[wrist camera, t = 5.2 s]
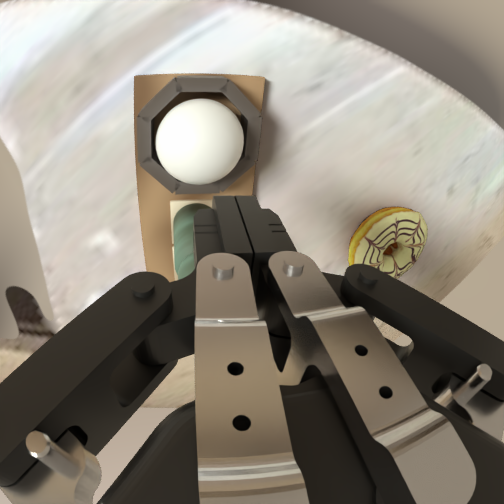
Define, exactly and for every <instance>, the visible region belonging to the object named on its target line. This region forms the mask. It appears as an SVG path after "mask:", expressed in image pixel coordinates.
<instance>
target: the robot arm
mask: <svg viewBox="0 0 504 504" xmlns="http://www.w3.org/2000/svg"><path fill="white" fill-rule="evenodd" d="M193 254H194V267H195V269H194V270H193V272H192V273H190V274H189V275H188V276H186V277H184V278H182V279H179V280H176V281H173V282H169V281H168V279H167V278H165V277H164V276H162V275H161V274H158V273H155V272H138V273H134V274H131V275H129V276H127V277H126V278H124V279H123V280H122V281H120V282H119V283H118V284H116V285H115V286H114V287H113V288H111V289H110V290H109V291H108V292H106V293H105V294H104V295H103V296H101V297H100V298H99V299H98V300H96V301H95V302H94V303H93V304H91V305H90V306H89V307H88V308H86V309H85V310H84V311H83V312H82V313H80V314H79V315H78V316H77V317H76V318H74V319H73V320H72V321H71V322H70V323H68V324H67V325H66V326H65V327H64V328H62V329H61V330H60V331H59V332H58V333H56V334H55V335H54V336H53V337H52V338H51V339H49V340H48V341H47V342H46V343H45V344H44V345H43V346H41V347H40V348H39V349H38V350H37V351H36V352H35V353H33V354H32V355H31V356H30V357H29V358H28V359H27V360H26V361H24V362H23V363H22V364H21V365H20V366H19V367H18V368H17V369H16V370H14V371H13V372H12V373H11V374H10V375H9V376H8V377H7V378H6V379H5V380H4V381H3V382H1V383H0V489H1V490H2V491H3V493H4V494H5V495H6V496H7V498H8V499H9V500H10V501H11V503H12V504H92V501H93V496H94V493H95V491H96V489H97V488H98V486H99V484H100V481H101V476H102V475H101V467H100V464H99V462H98V460H97V458H96V457H95V456H96V455H97V454H98V453H99V452H100V451H101V450H102V449H103V448H104V446H105V445H106V444H107V443H108V442H109V441H110V439H112V437H113V436H114V435H115V434H116V433H117V432H118V431H119V430H120V429H121V427H122V426H123V425H124V424H125V423H126V422H127V420H128V419H129V418H130V417H131V416H132V415H133V414H134V413H135V412H136V411H137V409H138V408H139V407H140V406H141V405H142V404H143V403H144V401H145V400H146V399H147V398H148V397H149V396H150V395H151V393H152V392H153V391H154V390H155V389H156V388H157V387H158V385H159V384H160V383H161V382H162V381H163V380H164V379H165V377H166V376H167V375H168V374H169V373H170V372H171V371H172V369H173V368H174V367H175V366H176V364H177V362H178V359H180V358H183V357H186V356H189V355H192V354H195V400H194V401H192V402H189V403H187V404H185V405H183V406H181V407H180V408H178V409H176V410H175V411H173V412H172V413H171V414H169V415H168V416H167V417H166V418H165V419H164V420H163V421H162V422H161V423H160V424H159V425H158V426H157V427H156V428H155V430H154V431H153V432H152V434H151V435H150V436H149V438H148V439H147V440H146V441H145V443H144V444H143V446H142V447H141V448H140V449H139V451H138V452H137V453H136V454H135V456H134V457H133V458H132V460H131V461H130V462H129V463H128V465H127V466H126V467H125V469H124V470H123V471H122V472H121V474H120V475H119V476H118V478H117V479H116V480H115V481H114V483H113V484H112V485H111V486H110V488H109V489H108V490H107V491H106V493H105V494H104V495H103V496H102V498H101V499H100V500H99V501H98V503H97V504H504V443H503V442H501V440H502V435H503V430H504V342H503V341H502V340H500V339H499V338H497V337H495V336H494V335H492V334H490V333H489V332H487V331H486V330H484V329H482V328H480V327H479V326H477V325H476V324H474V323H472V322H471V321H469V320H467V319H466V318H464V317H462V316H460V315H459V314H457V313H455V312H454V311H452V310H450V309H448V308H447V307H445V306H443V305H442V304H440V303H438V302H436V301H435V300H433V299H431V298H429V297H428V296H426V295H424V294H422V293H421V292H419V291H417V290H415V289H413V288H412V287H410V286H408V285H406V284H404V283H403V282H401V281H399V280H397V279H395V278H394V277H392V276H390V275H388V274H386V273H384V272H383V271H381V270H379V269H377V268H375V267H373V266H370V265H367V264H353V265H350V266H349V267H348V268H347V269H346V272H345V275H344V276H341V275H335V274H329V273H324V272H321V271H320V269H319V268H318V266H317V265H316V263H315V262H314V261H313V260H312V259H311V258H310V257H308V256H306V255H304V254H302V253H299V252H297V250H296V248H295V246H294V244H293V243H292V241H291V239H290V237H289V235H288V233H287V232H286V229H285V227H284V225H283V224H282V222H281V220H280V218H279V216H278V215H277V214H275V213H274V212H273V211H271V210H270V209H261V207H260V205H259V203H258V201H257V199H256V197H255V196H242V195H235V196H213V199H212V209H199V210H198V211H197V212H196V214H195V215H194V217H193ZM258 317H259V318H258ZM375 317H376V318H378V319H380V320H382V321H383V322H385V323H387V324H388V325H390V326H392V327H394V328H395V329H397V330H399V331H400V332H402V333H404V334H406V335H407V336H409V337H410V338H411V339H412V342H411V344H410V345H408V346H406V347H402V346H399V345H397V344H395V343H394V342H392V341H390V340H388V339H387V338H385V337H384V336H383V335H382V333H381V332H380V330H379V329H378V327H377V326H376V324H375V323H374V321H373V320H374V318H375Z"/></svg>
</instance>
